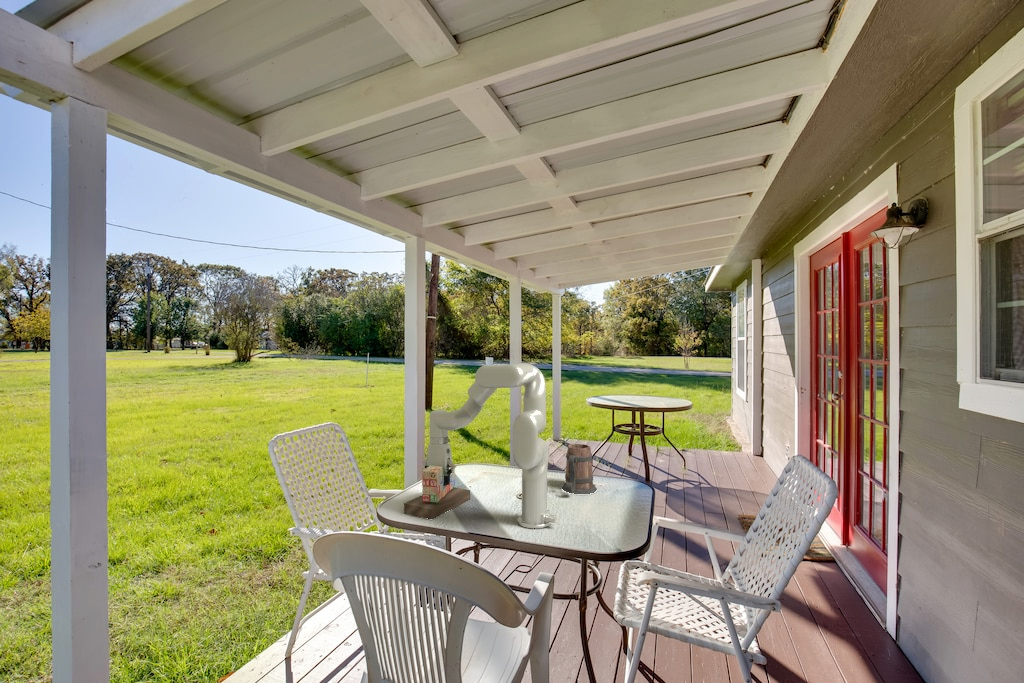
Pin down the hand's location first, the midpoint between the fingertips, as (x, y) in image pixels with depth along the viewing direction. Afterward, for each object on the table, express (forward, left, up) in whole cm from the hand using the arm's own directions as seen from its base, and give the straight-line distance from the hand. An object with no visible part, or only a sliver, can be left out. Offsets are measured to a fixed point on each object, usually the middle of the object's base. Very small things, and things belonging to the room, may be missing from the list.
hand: (438, 483), depth 189 cm
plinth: (0, 0, -10) cm, 9 cm away
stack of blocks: (0, -1, -5) cm, 5 cm away
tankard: (-43, -46, -10) cm, 64 cm away
